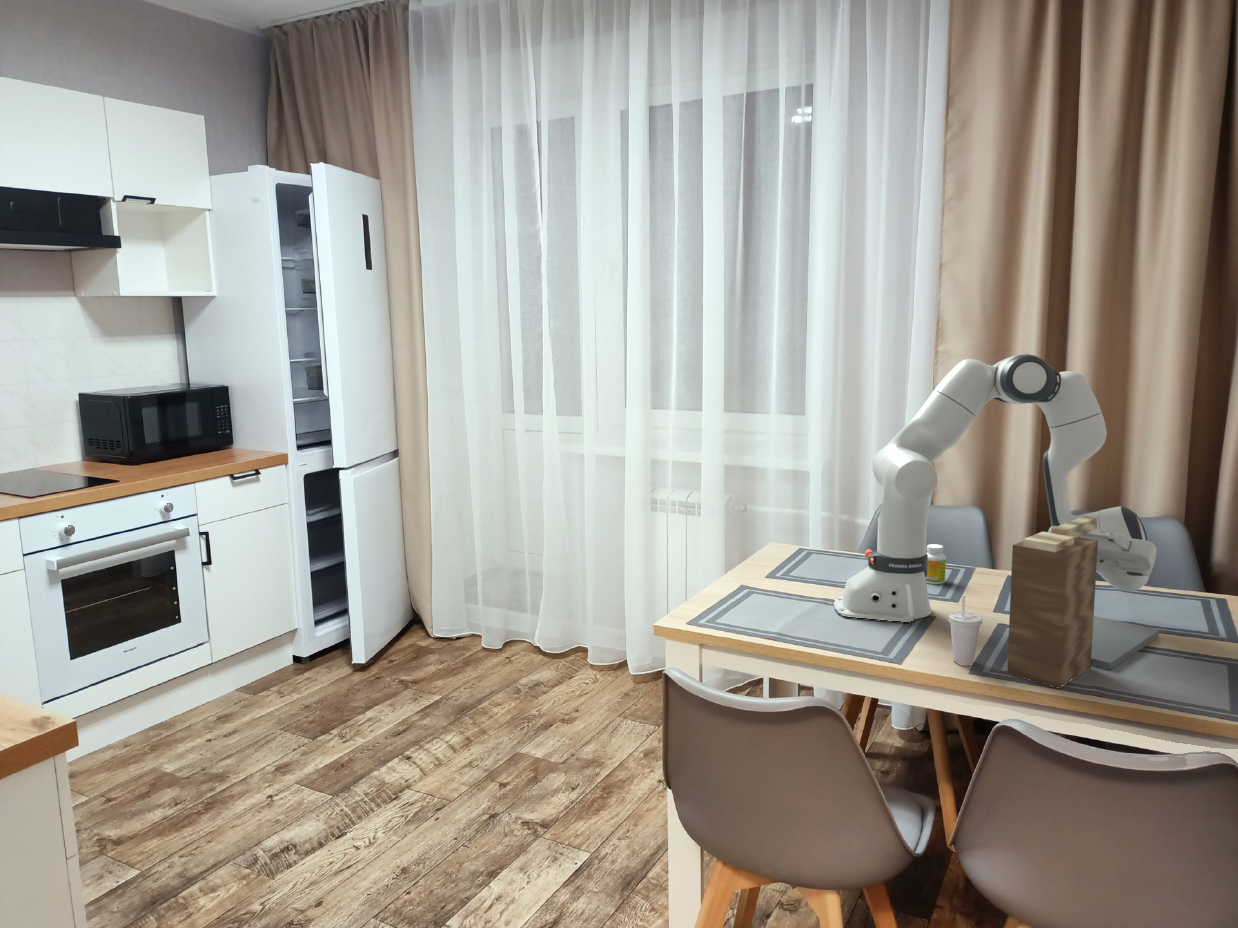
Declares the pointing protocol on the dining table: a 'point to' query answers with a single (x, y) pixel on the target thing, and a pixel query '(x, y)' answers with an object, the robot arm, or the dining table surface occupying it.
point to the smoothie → (964, 635)
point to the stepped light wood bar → (1061, 535)
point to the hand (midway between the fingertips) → (1087, 532)
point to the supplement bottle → (936, 564)
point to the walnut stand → (1052, 612)
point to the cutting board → (1117, 641)
